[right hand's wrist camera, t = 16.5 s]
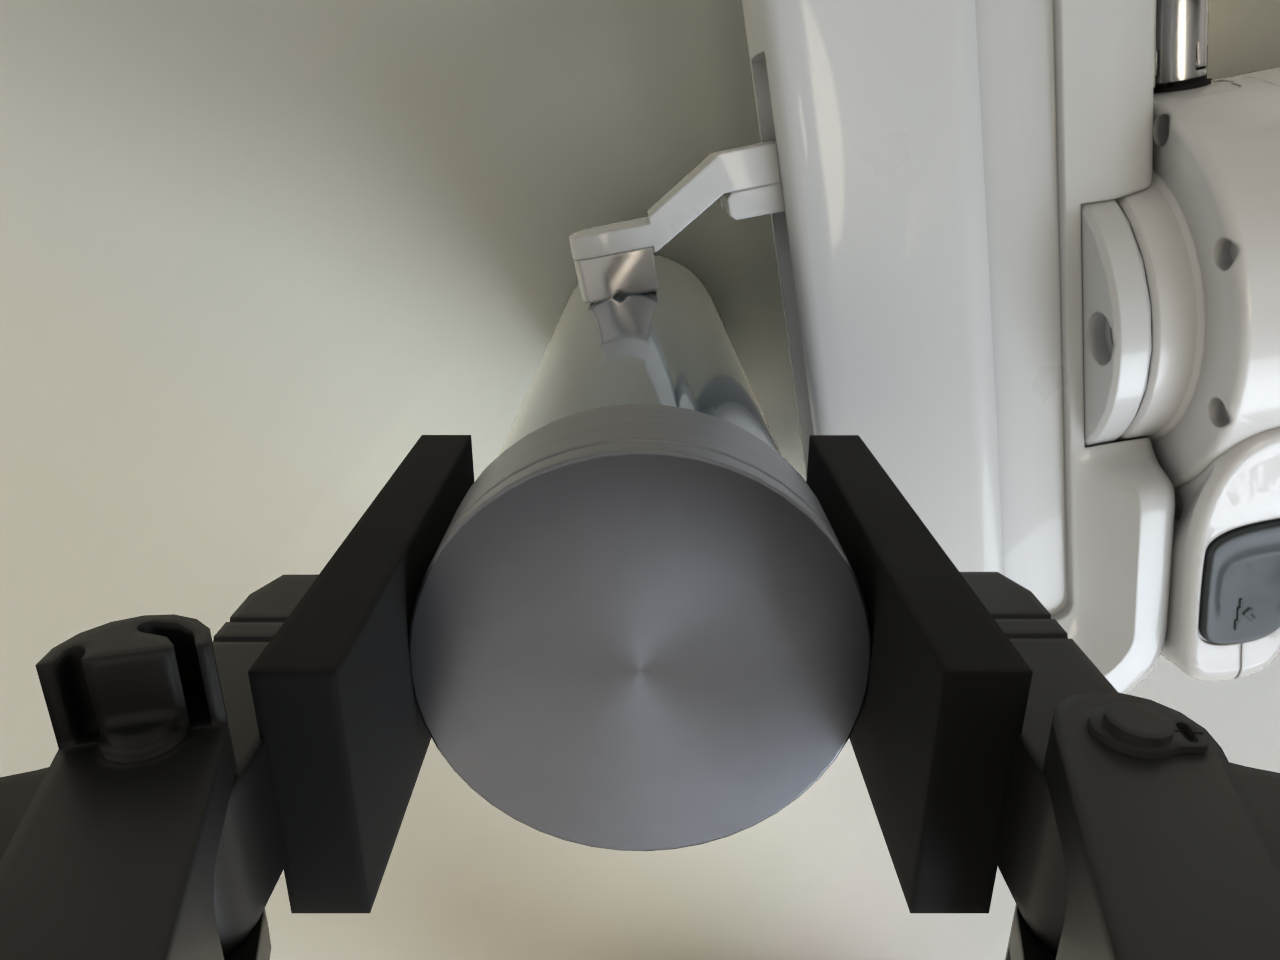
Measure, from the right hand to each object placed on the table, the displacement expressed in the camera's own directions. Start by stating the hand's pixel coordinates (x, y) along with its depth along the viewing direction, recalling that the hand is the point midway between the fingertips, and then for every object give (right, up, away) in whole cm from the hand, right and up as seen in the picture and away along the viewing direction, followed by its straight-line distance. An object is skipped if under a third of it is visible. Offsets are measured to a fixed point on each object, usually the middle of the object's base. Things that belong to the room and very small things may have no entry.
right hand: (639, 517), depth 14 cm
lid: (0, -1, -4) cm, 4 cm away
